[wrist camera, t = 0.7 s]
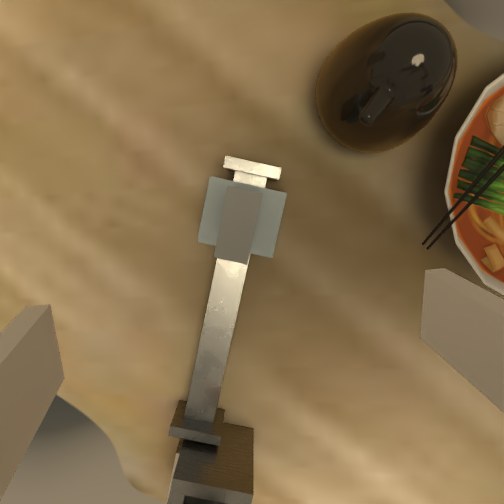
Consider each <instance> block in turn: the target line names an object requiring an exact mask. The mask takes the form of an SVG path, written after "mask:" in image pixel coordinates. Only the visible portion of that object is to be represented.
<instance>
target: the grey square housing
mask: <svg viewBox="0 0 504 504" xmlns="http://www.w3.org/2000/svg"><path fill="white" fill-rule="evenodd" d="M252 498H253V429H252V428H247V427H243V426H238V425H233V424H228V423H223V427H222V435H221V440H220V444H219V446H217V445H212V444H208V443H203V442H198V441H193V440H188V439H183V438H181V439H180V442H179V446H178V449H177V452H176V457H175V461H174V466H173V471H172V476H171V481H170V485H169V490H168V495H167V499H168V503H167V504H251V502H252Z"/></svg>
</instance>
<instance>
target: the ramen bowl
mask: <svg viewBox="0 0 504 504" xmlns="http://www.w3.org/2000/svg"><path fill="white" fill-rule="evenodd" d="M444 194H445V198H446V203H447V207H448V213H447V214H446V215H445V216H444V218H443V219H442V220H441V221H440V222H439V224H438V225H437V226H436V227H435V229H434V230H433V231H432V232H431V233H430V235H429V236H428V237H427V238H426V239H425V241H424V242H423V243H422V245H424V244H425V243H426V242H427V240H428V239H429V238H430V237H431V236H432V235H433V234H434V232H435V231H436V230H437V229H438V228H439V227H440V226H441V224H442V223H443V222H444V221H445V220H446V219H447V218H448V216H449V217H450V221H451V222H450V223H449V224H448V225H447V226H446V227H445V228H444V230H443V231H442V232H441V233H440V234H439V235H438V236H437V237H436V238H435V239H434V240H433V242H432V243H431V244H430V245H429V246H428V247H427V248H426V249H427V250H428V249H429V248H430V247H431V246H432V245H433V244H434V243H435V242H436V241H437V240H438V239H439V238H440V237H441V235H442V234H443V233H444V232H445V231H446V230H447V229H448V228H449V227H450V226H452V230H453V235H454V240H455V244H456V245H457V246H458V248H459V249H460V251H461V252H462V254H463V255H464V256H465V258H466V259H467V261H468V262H469V264H470V265H471V266H472V268H473V269H474V271H475V272H476V273H477V275H478V276H479V278H480V279H481V281H482V282H483V283H484V285H486V286H488V287H490V288H491V289H493V290H495V291H497V292H498V293H500V294H502V295H504V73H503V74H502V75H501V76H499V77H498V78H497V79H495V80H494V81H493V82H491V83H490V84H489V85H487V86H486V87H485V88H484V90H483V92H482V93H481V95H480V97H479V98H478V100H477V102H476V103H475V105H474V107H473V108H472V110H471V111H470V113H469V115H468V116H467V118H466V120H465V121H464V123H463V125H462V126H461V128H460V130H459V131H458V133H457V134H456V136H455V139H454V144H453V149H452V154H451V160H450V165H449V170H448V175H447V180H446V185H445V190H444Z"/></svg>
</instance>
